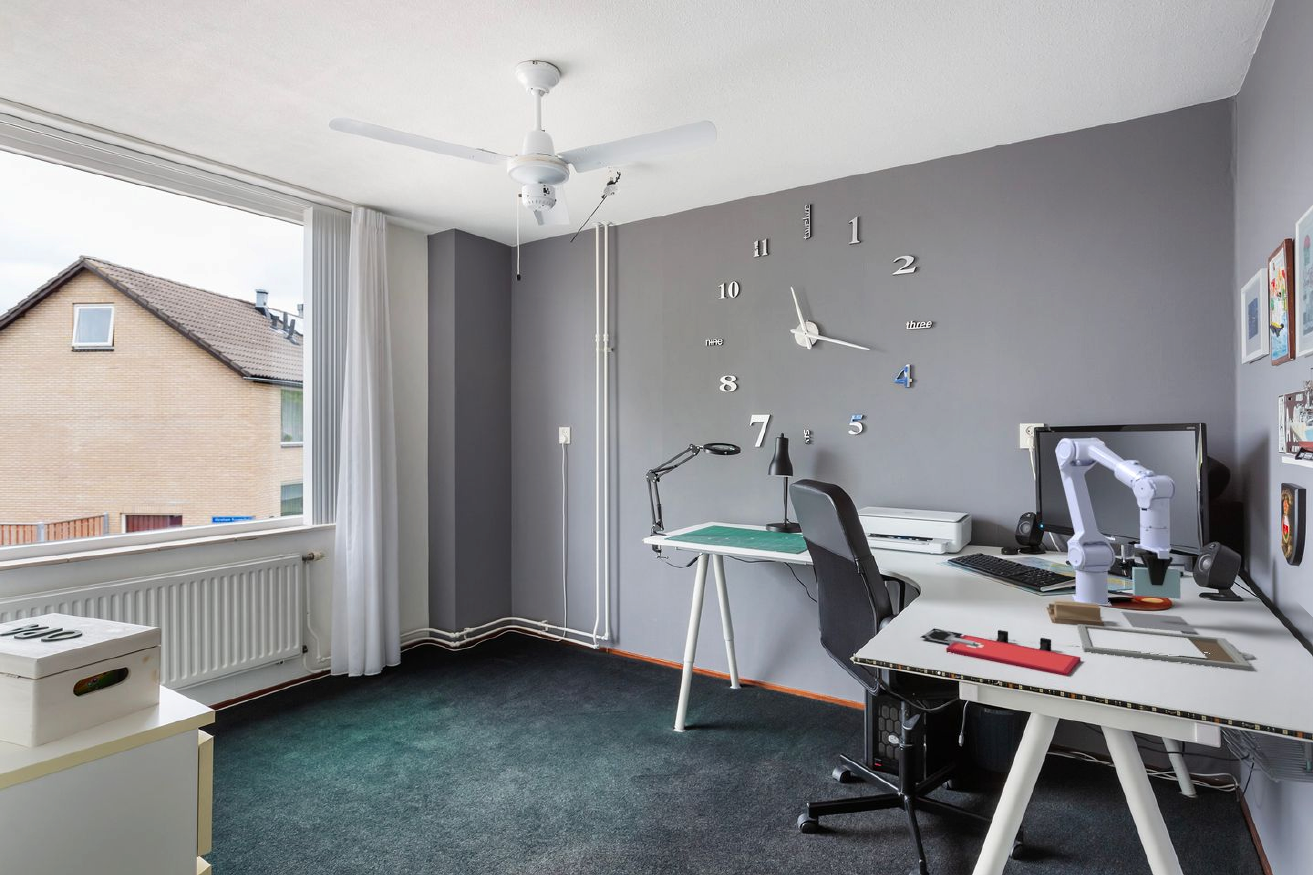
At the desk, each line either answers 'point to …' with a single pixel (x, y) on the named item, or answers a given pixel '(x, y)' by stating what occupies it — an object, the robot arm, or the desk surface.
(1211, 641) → the grey flat rectangular frame
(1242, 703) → the desk surface
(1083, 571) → the robot arm
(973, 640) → the red board with handle
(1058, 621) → the rack
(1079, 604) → the offcut
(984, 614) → the desk surface
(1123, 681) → the desk surface
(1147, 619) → the mat
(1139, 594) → the pale teal block
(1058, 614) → the offcut
